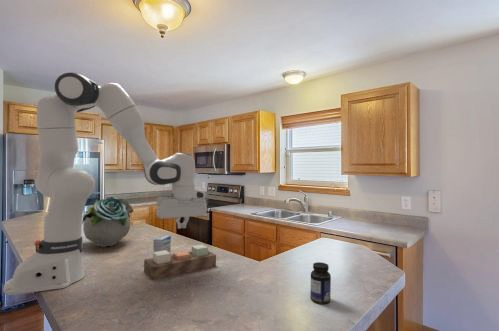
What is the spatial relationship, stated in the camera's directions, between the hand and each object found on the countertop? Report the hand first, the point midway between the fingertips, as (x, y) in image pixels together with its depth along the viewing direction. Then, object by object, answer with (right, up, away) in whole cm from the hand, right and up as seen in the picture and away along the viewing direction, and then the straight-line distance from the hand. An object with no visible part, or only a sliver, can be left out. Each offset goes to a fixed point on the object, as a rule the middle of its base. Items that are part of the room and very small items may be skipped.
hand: (181, 228), depth 112 cm
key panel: (0, -16, 0) cm, 16 cm away
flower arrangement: (-45, -16, +30) cm, 56 cm away
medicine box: (-12, -16, +14) cm, 25 cm away
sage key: (+6, -13, +5) cm, 15 cm away
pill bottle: (+49, -17, -24) cm, 57 cm away
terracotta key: (0, -15, 0) cm, 15 cm away
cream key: (-6, -13, -5) cm, 15 cm away
